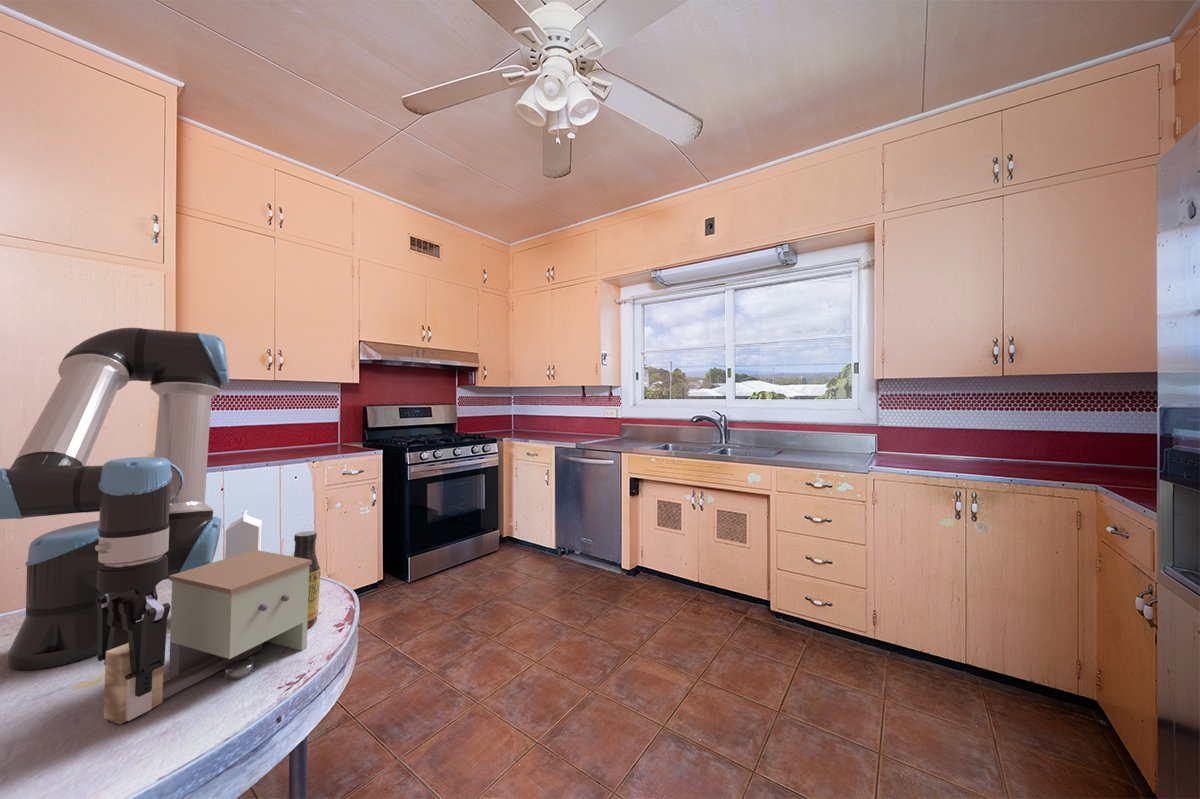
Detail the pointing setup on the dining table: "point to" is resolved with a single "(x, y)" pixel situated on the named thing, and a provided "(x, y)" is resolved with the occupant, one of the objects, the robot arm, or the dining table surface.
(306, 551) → the sauce bottle
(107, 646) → the robot arm
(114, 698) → the wooden toy block
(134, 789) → the dining table surface
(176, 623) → the cabinet
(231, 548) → the milk
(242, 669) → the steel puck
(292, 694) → the dining table surface
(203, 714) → the dining table surface
